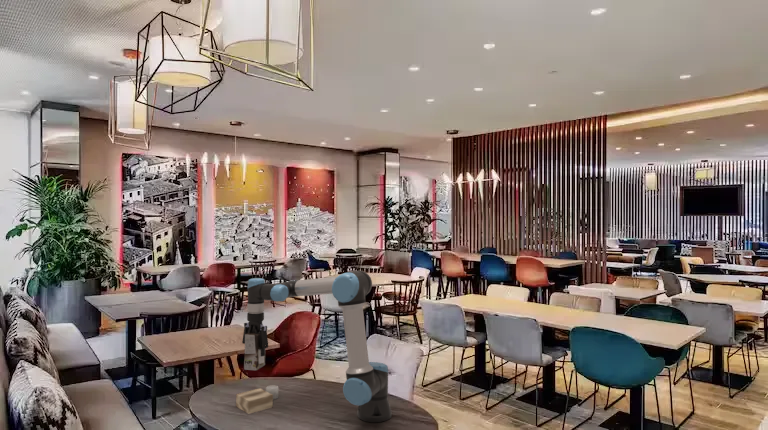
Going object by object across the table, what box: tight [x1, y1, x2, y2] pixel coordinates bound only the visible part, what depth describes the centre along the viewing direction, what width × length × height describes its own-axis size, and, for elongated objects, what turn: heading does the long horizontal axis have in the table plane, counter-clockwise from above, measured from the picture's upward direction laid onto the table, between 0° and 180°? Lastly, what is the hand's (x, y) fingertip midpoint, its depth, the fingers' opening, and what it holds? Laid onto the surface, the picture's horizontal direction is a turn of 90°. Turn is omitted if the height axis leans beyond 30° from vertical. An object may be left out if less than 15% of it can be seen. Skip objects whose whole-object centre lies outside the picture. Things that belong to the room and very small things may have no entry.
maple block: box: [235, 387, 274, 415], centre depth 224 cm, size 12×12×6 cm
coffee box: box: [243, 332, 266, 371], centre depth 225 cm, size 9×6×16 cm
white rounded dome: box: [265, 384, 279, 401], centre depth 236 cm, size 6×6×5 cm
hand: (254, 361), depth 225 cm, fingers closed on coffee box, 8 cm apart
